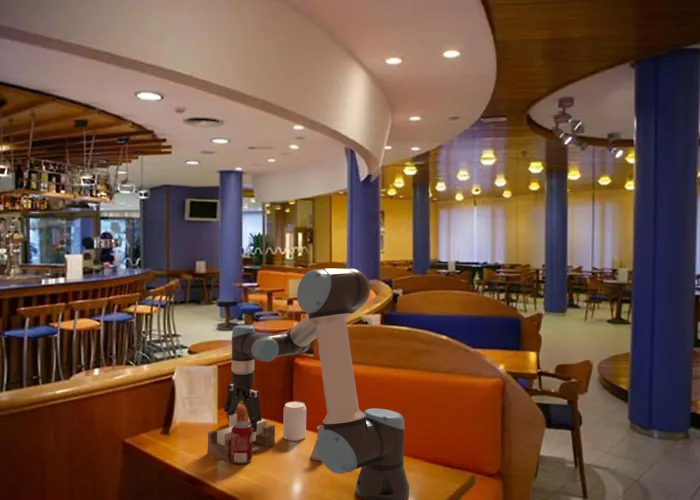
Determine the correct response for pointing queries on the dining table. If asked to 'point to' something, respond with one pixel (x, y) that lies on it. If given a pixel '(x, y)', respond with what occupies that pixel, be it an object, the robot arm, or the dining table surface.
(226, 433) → the white rectangular bar
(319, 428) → the flask
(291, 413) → the beverage can
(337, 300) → the robot arm
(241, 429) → the soda can
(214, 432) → the rack
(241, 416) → the fruit
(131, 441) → the dining table surface
